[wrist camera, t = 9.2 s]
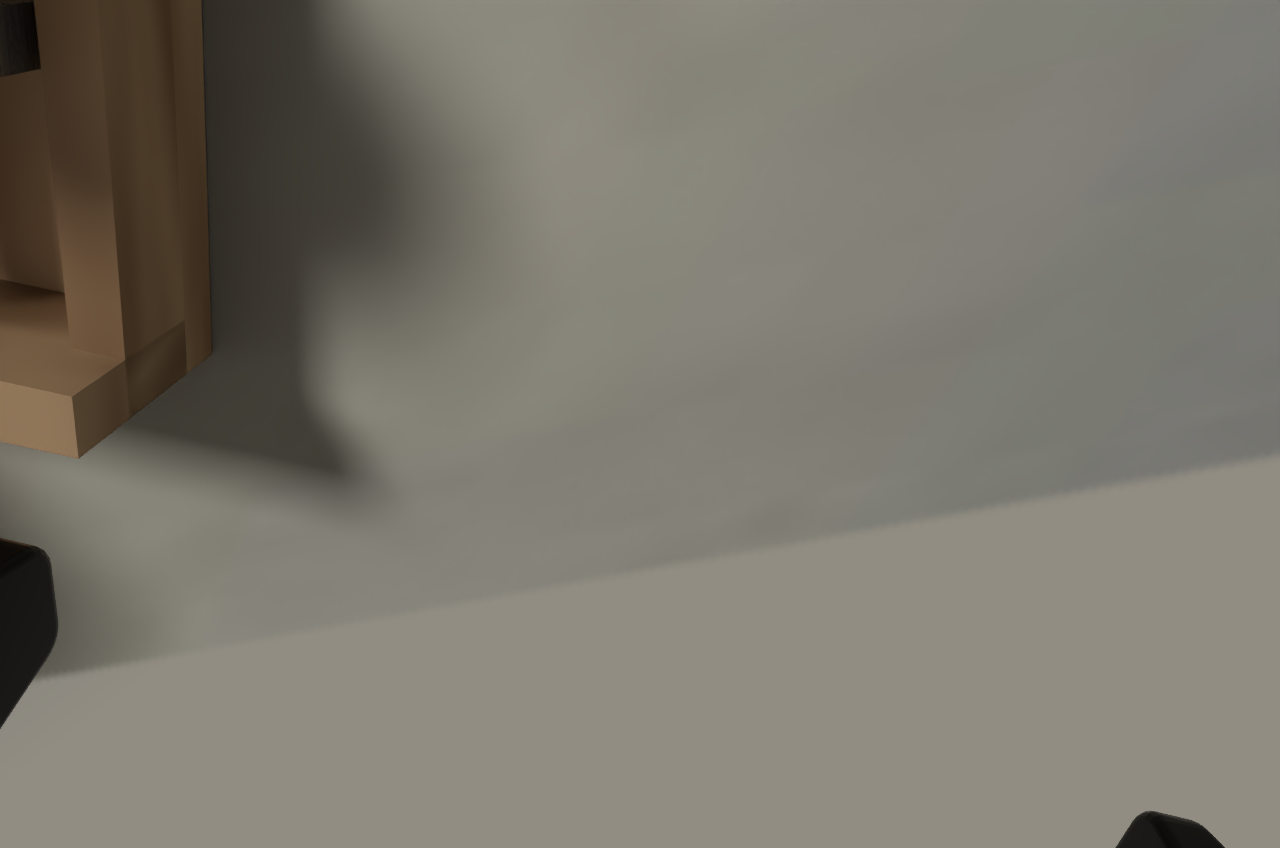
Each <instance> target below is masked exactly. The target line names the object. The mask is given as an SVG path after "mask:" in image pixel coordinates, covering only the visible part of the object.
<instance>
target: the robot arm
mask: <svg viewBox="0 0 1280 848" xmlns="http://www.w3.org/2000/svg"><path fill="white" fill-rule="evenodd" d="M57 632H58V617H57V609H56V601H55V593H54V585H53V577H52V569H51V562H50V558H49V557H48V555H47V554H46V553H45V551H44V550H42V549H40V548H39V547H36V546H32V545H28V544H24V543H19V542H15V541H11V540H7V539H2V538H0V729H1V727H2V726H3V724H4V723H5V721H6V719H7V718H8V716H9V715H10V713H11V712H12V710H13V709H14V707H15V706H16V704H17V703H18V701H19V700H20V698H21V697H22V695H23V694H24V692H25V691H26V689H27V688H28V686H29V685H30V683H31V682H32V680H33V679H34V677H35V676H36V674H37V673H38V671H39V670H40V668H41V667H42V665H43V664H44V662H45V661H46V659H47V658H48V656H49V654H50V652H51V650H52V648H53V646H54V644H55V641H56V637H57ZM1116 848H1225V847H1224V846H1223V845H1222V844H1221V843H1220V842H1219V841H1218V840H1217V839H1216V838H1215V837H1214V836H1213V835H1212V834H1211V833H1210V832H1209V831H1208V830H1207V829H1205V828H1204V827H1203V826H1202V825H1200V824H1199V823H1196V822H1194V821H1192V820H1189V819H1184V818H1180V817H1176V816H1172V815H1168V814H1163V813H1159V812H1155V811H1146V812H1144V813H1142V814H1140V815H1138V816H1137V817H1136V818H1135V819H1134V820H1133V822H1132V823H1131V825H1130V827H1129V828H1128V829H1127V831H1126V832H1125V834H1124V836H1123V837H1122V839H1121V840H1120V842H1119V844H1118V845H1117V846H1116Z"/></svg>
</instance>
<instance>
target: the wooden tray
mask: <svg viewBox="0 0 1280 848" xmlns="http://www.w3.org/2000/svg"><path fill="white" fill-rule="evenodd" d="M34 7H35V17H36V26H37V35H38V45H39V54H40V64H41V69H38V70H33V71H28V72H24V73H19V74H14V75H9V76H4V77H0V441H1V442H6V443H10V444H15V445H19V446H24V447H28V448H33V449H37V450H42V451H46V452H51V453H55V454H60V455H64V456H69V457H73V458H78V459H79V458H80V457H81V456H83V455H84V454H85V453H86V452H88V451H89V450H90V449H92V448H93V447H94V446H95V445H97V444H98V443H99V442H100V441H102V440H103V439H104V438H106V437H107V436H108V435H109V434H111V433H112V432H113V431H115V430H116V429H117V428H118V427H120V426H121V425H122V424H123V423H125V422H126V421H127V420H129V419H130V418H131V417H132V416H134V415H135V414H136V413H137V412H139V411H140V410H141V409H143V408H144V407H145V406H146V405H148V404H149V403H150V402H151V401H153V400H154V399H155V398H157V397H158V396H159V395H160V394H162V393H163V392H164V391H166V390H167V389H168V388H169V387H171V386H172V385H173V384H174V383H176V382H177V381H178V380H180V379H181V378H182V377H183V376H185V375H186V374H187V373H188V372H190V371H191V370H192V369H194V368H195V367H196V366H197V365H199V364H200V363H201V362H203V361H204V360H205V359H206V358H208V357H209V356H210V355H211V354H212V337H211V303H210V269H209V236H208V202H207V168H206V135H205V101H204V67H203V34H202V0H34Z"/></svg>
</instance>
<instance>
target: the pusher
mask: <svg viewBox="0 0 1280 848" xmlns="http://www.w3.org/2000/svg"><path fill="white" fill-rule="evenodd" d="M38 69H41V64H40V54H39V45H38V35H37V26H36V17H35V7H34V0H0V77H4V76H9V75H14V74H19V73H24V72H28V71H33V70H38Z"/></svg>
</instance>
